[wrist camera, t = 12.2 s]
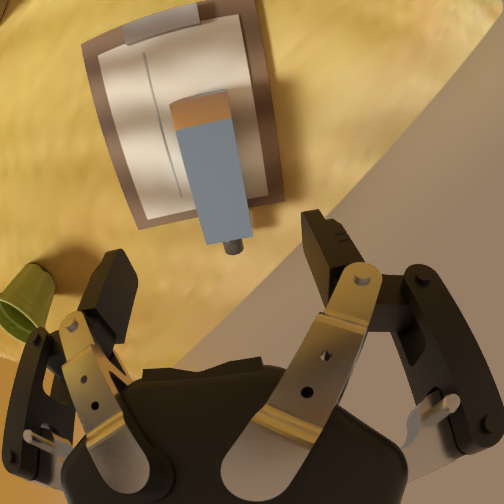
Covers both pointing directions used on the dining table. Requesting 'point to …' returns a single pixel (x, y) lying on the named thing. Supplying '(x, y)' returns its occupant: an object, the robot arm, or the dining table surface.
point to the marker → (213, 167)
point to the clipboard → (177, 87)
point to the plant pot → (26, 302)
